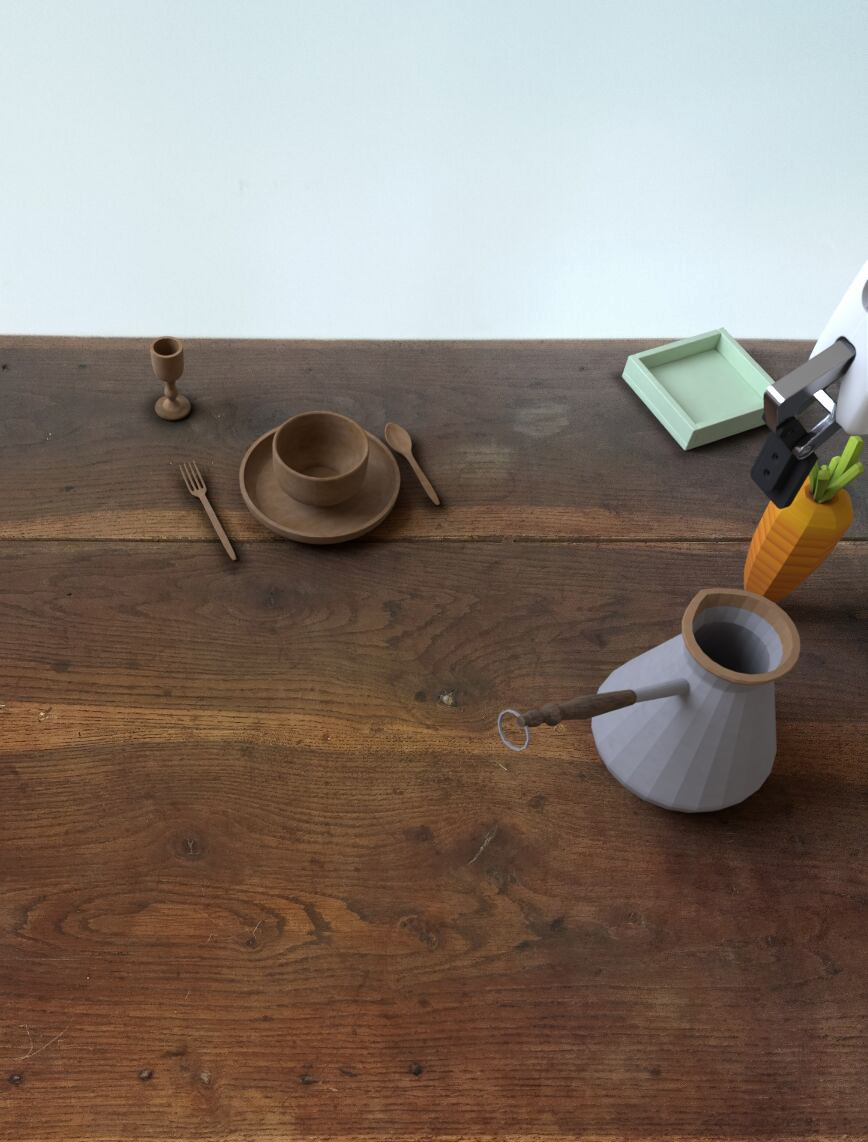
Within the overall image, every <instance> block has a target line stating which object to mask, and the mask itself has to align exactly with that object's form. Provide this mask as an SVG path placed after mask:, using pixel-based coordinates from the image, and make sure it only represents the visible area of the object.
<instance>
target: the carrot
mask: <svg viewBox="0 0 868 1142" xmlns="http://www.w3.org/2000/svg"><path fill="white" fill-rule="evenodd" d="M849 436H850V437H849V438H848V441H847V443H846V445H845V447H844V450H843V452H842V454H841V456H840V455H836V456H834V457H832V458H831V459H830V463H828V464H829V465H828V464H822V465H821V466H819V464H818V461H817V462H816V463H815V465H814V467H813V468H812V470H811V472H810V473H809V475H808V477H807V479H806V480H805V482H804V484H803V485H802V487H801V489H800V490H799V492H798V494H797V495H796V497H795V499H794V501H793V502H792V504H791V505H790V506H789V507H786V508H783V509H778V508H777V507H776V506H775V505H774V503H773V502H772V501H771V500H770V501H768V505H767V507H766V508H765V510H764V512H763V515H762V516H761V519H760V521H759V523H758V525H757V527H756V529H755V531H754V533H753V536H752V539H751V541H750V545H749V548H748V551H747V555H746V560H745V564H744V568H743V590H745V591H749V592H752V593H755V594H758V595H761V596H763V597H765V598H766V599H768V600H770V601H772V602H773V603H775V604H777V603H778V602H781V601H782V600H783V599H784V598H786V597H787V596H788V595H791V593H793V591H795V590H796V589H797V588H799V587H800V586H801V585H802V584H803V583H804V582H805V581H806V580H807V579H809V578H810V576H812V574H814V573H815V572H816V570H817V569H819V567H821V565H822V564H823V563H824V562H825V561H826V559H827V558H828V557H829V556H830V555H831V553H832V551H834V549H835V548H836V547H837V545H838V543H840V541H841V539H842V538H843V537H844V535H845V534H846V532H847V531H848V530H849V528H850V527H851V525H852V523H853V521H854V518H855V514H854V510H853V505H852V504H853V503H852V500H851V495H850V493H849V492H848V491H847V490H846V489H845V487H847V486H848V485H850V484H851V483H853V481H855V480H856V479H858V477H860V476H861V475H862V474H863V473H864V472H865V465H864V464H863V463H862V462H861V461H859V459H860V457H861V455H862V453H863V451H864V448H865V447H866V442H865V441H864V440H863V438H862V437H861V435H859V436H856V435H849Z"/></svg>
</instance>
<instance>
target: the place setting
mask: <svg viewBox="0 0 868 1142" xmlns="http://www.w3.org/2000/svg"><path fill="white" fill-rule="evenodd" d="M149 349H150V350H149V351H150V359H151V365H152V369H153V373H154V374H155V376H156V377H157V379H159V381H162V382H164V384H165V388H164V392H163V393H164V396H162V397H160V398H159V399H158V400H157V401H156V402H155V405H154V410H155V412H156V414H157V416H159V417H160V418H161V419H163V420H166V421H179V420H182V419H184V418H186V417H187V416H188V415H189V414H190V412H191V410H192V405H191V402H190V400H189V399H188V398H187V397H185V396H183V395H181V394H179V389H178V387H177V386H176V381H178V380H179V379H180V378H181V377H182V376H183V374H184V370H185V357H184V347H183V343H182V341H181V340H180V339H179V338H177V337H174V336H172V335H162V336H159V337H157V338H154V339H153V340H152V342H151V343H150V346H149ZM384 439H385V441H386V442H387V445H388V446H389V447H390V448H391V449H392V450H393V451H394V452H396V453H397V454H399V455H401V456H403V457H404V458H406V460H407V461H408V463H409V464H410V466H411V468H412V469H413V471H414V473H415V475H416V477H417V478H418V481H419V482H420V484H421V486H422V487H423V490H424V491H425V493H426V494H427V496H428V497H429V499H430V500H431V501H432V502H433V504H435V506H439V505H440V500H439V498H438V497H439V496H438V495H437V492H436V491H435V489H434V488H433V485H432V484H431V483H430V481H429V480H428V478H427V476H426V475H425V473H424V472H423V470H422V469H421V466H420V465H419V464H418V462H417V460H416V459H415V458H414V456H413V452H412V448H413V442H412V438H411V436H410V434H409V433H408V431H407V430H406V429H404V427H402V426H400V425H398V424H397V423H394V422H391V421H390V422H388V423H386V425H385V427H384ZM387 445H386V444H384V442H382V440H380V439H379V438H378V437H377V436H376V435H374V434H372V433H371V432H368V431H367V430H365V429H364V428H363V427H361V426H360V424H359V423H357V422H356V421H354V420H353V419H352V418H350V417H349V416H348V417H347V416H345V415H343V414H340V413H337V412H333V411H327V410H324V411H323V410H315V411H314V410H313V411H307V412H303V413H299V414H297V415H294V416H292V417H290V418H288V419H287V420H286V421H285V422H283V423H282V424H281V425H279V426H277V427H274V428H273V429H270V430H269V431H267V432H266V433H264V434H263V435H261V436H260V437H259V438H257V439H256V440H255V441H254V442H253V443H252V444H251V445H250V446H249V448H248V449H247V451H246V452H245V454H244V455H243V458H242V459H241V463H240V467H239V474H238V475H239V476H238V479H239V489H240V493H241V497H242V499H243V501H244V503H245V506H246V507H247V509H248V511H249V512H250V513H251V514H252V516H253V517H254V518H255V519H256V520H257V522H259V523H260V524H261V525H262V526H264V527H265V528H266V529H268V530H269V531H271V532H273V533H274V534H276V535H278V536H280V537H283V538H285V539H287V540H290V541H294V542H298V543H303V544H308V545H333V544H339V543H344V542H348V541H352V540H354V539H358V538H360V537H362V536H364V535H366V534H368V533H369V532H371V531H372V530H374V529H375V528H377V527H378V526H379V525H381V523H382V522H383V521H384V520H385V519H386V518H387V517H388V515H390V513H391V512H392V510H393V508H394V506H395V505H396V502H397V499H398V496H399V491H400V486H401V473H400V468H399V465H398V462H397V460H396V458H395V457H394V454H393V453H392V452H391V450H390V449H389V448H388V447H387ZM192 462H193V465H194V468H195V470H196V472H195V471H194V469H193V466H192V464H191V462H188V466H189V469H190V471H191V473H190V472H189V469H188V467H187V465H186V463H185V462H184V463H183V466H184V469H185V471H186V474H187V476H188V478H187V476H186V474H185V472H184V470H183V468H182V467H183V466H182V465H181V464H178V465H179V469H180V473H181V476H182V477H183V480H184V482H185V485H186V486H187V489H188V491H189V493H190V494H191V495H192V496H194V497H196V498H199V500H200V501H201V503H202V506H203V507H204V510H205V511H206V513H207V515H208V518H209V520H210V521H211V523H212V526H213V528H214V530H215V532H216V534H217V536H218V539H219V540H220V542H221V544H222V545H223V547H224V549H225V551H226V553H227V555H228V556H229V557H230V559H231V560H232V561H235V560H237V556H236V553H235V551H234V548H233V547H232V545H231V543H230V540H229V538H228V536H227V534H226V532H225V531H224V529H223V526H222V524H221V523H220V521H219V518H218V516H217V515H216V513H215V511H214V509H213V508H212V505H211V503H210V502H209V500H208V498H207V495H206V494H207V492H208V490H207V487H206V486H207V485H206V484H205V481H204V479H203V476H202V475H201V472H200V470H199V468H198V466H197V463H196V462H195V460H193V461H192ZM196 473H197V475H198V477H199V479H198V477H197V475H196ZM191 474H192V476H193V478H194V480H195V483H196V485H197V487H198V489H197V487H196V485H195V483H194V480H193V478H192V476H191ZM188 479H189V481H190V483H189V481H188ZM199 480H200V482H199ZM200 483H201V484H202V486H203V488H202V486H201V484H200ZM190 484H191V486H192V488H193V490H192V488H191V486H190Z"/></svg>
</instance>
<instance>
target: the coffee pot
mask: <svg viewBox="0 0 868 1142" xmlns="http://www.w3.org/2000/svg"><path fill="white" fill-rule="evenodd" d="M796 626H797V625H795V623H794V621H793V620H792V619H791V617H790V616H789V615H788V613H787V612H786V611H784V609H783V608H781V607H780V606H779V605H777V603H773V602H772V601H770V600H768V599H766V598H765V597H763V596H761V595H758V594H755V593H752V592H749V591H745V590H744V589H739V588H738V589H737V588H724V587H723V588H722V587H721V588H720V587H716V588H715V587H714V588H702V589H700V590H699V591H698V592H697V594H696V595H695V596H694V597H693V598H692V600H691V601H690V602H689V604H688V605H687V607H686V609H685V611H684V614H683V617H682V620H681V633H679V634H677V635H675V636H674V637H672V638H670V639H669V640H666V641H664V642H662V643H661V644H658V645H657V646H655V647H653V648H651V649H649V650H647V651H646V652H644V653H642V654H640V655H637V656H636V657H634V658H631V659H630V660H628V661H627V662H625V663H624V664H623V665H620V666H619V667H617V668H616V669H615V670H613V671H612V672H611V673H610V674H609V675H608V677H606V679H605V680H604V681H603V683H602V684H601V685H600V686H599V687H598V690H597V693H592V694H585V695H579V696H578V695H577V696H576V697H574V698H572V699H569V700H567V701H565V702H562V703H560V704H557V703H555V702H553V701H552V702H547V703H545V705H544V704H543V707H542V709H540V710H539V709H530V710H528V711H526V712H524V713H522V714H520V713H519V712H518V711H516V710H513V709H511V708H509V709H506V710H504V711H502V712H500V714H499V716H498V719H497V728H498V732H499V735H500V737H501V739H502V742H503V743H504V745H506V746H507V747H508V748H510V749H511V750H512V751H513V750H514V751H517V752H521V751H523V750H525V749H528V747H529V745H530V743H531V740H532V737H531V731H530V728H538V727H540V726H541V725H542V724H545V725H547V726H548V727H552V728H553V727H557V726H558V725H560V724H561V722H562V721H584V720H589V719H591V725H590V728H591V732H592V735H593V739H594V743H595V747H596V750H597V752H598V755H599V756H600V758H601V760H602V761H603V763H604V766H605V767H606V768H607V770H608V772H609V773H610V774H611V776H613V778H615V779H616V781H618V783H620V784H621V786H623V788H624V789H626V790H628V791H629V792H630V793H632V794H633V795H635V796H637V797H638V798H639V799H641V800H643V802H646V803H649V804H652V805H654V806H656V807H659V808H662V809H665V810H669V811H676V812H682V813H687V814H692V813H708V812H715V811H720V810H723V809H727V808H729V807H732V806H735V805H738V804H740V803H742V802H743V801H744V800H746V799H747V798H748V797H750V796H751V795H753V794H754V793H756V792H757V791H759V790H760V788H761V787H762V785H763V784H764V783H765V781H766V780H767V779H768V777H769V776H770V774H771V773H772V770H773V766H774V762H775V758H776V755H777V751H778V749H777V721H776V693H775V692H776V691H775V682H776V681H779V680H781V679H782V678H784V677H785V676H786V675H788V674H789V673H791V671H792V670H793V669H794V667H795V666H796V665H797V663H798V660H799V657H800V654H801V653H800V652H801V637H800V634H799V631H798V629H797V627H796ZM507 713H510V714H513V715H515V716H516V717H517V718H516V724H517V726H518V727H519V728H524V730H525V734H526V741H525V744H524V746H523V747H521V748H520V747H516V746H514V745H513V744H512V743H511V742H509V741H508V740H507V738H506V736H505V733H504V731H503V724H502V721H503V718H504V715H505V714H507Z"/></svg>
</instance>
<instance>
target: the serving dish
mask: <svg viewBox="0 0 868 1142" xmlns="http://www.w3.org/2000/svg"><path fill="white" fill-rule="evenodd" d="M621 378H622V379H623V380H624V381H625V382H626V383H627V385H628V386H629V388H631V390H632V391H634V393H635V394H636V395H637V396H638V398H639V399H640V400H641V401H642V403H644V404H645V405H646V407H647V408H648V410H650V412H651V413H652V414H653V415H654V417H656V419H657V420H658V421H659V423H660V424H661V425H662V426H663V427H664V428H665V429H666V430H667V432H668V433H669V434H670V435H671V437H672V438H673V439H674V440H675V442H677V443H678V445H679V446H680V447H681V448H682V449H683V450H684V451H685V452H686V451H689V450H692V449H695V448H698V447H701V446H704V445H707V444H710V443H713V442H716V441H719V440H722V439H725V438H728V437H731V436H734V435H737V434H741V433H743V432H746V431H748V430H749V431H750V430H752V429H755V428H759V427H761V426H764V425H767V424H766V423H765V422H764V421H763V419H762V415H763V413H764V400H763V395H764V392H765V391H766V389H767V388H768V387H769V386H771V385H772V384H773V383H775V382H776V381H775V380H774V379H773V377H771V376H770V375H769V374H768V373H767V371H765V369H764V368H762V366H761V365H760V363H758V362H757V361H756V360H755V359H754V358H753V357H752V356H751V355H750V354H749V352H747V351H746V350H745V348H744V347H742V345H741V344H740V343H739V342H738V341H737V340H736V339H735V338H734V336H732V335H731V333H730V332H728V330H727V329H725V327H720V328H716V329H712V330H710V331H707V332H704V333H703V332H702V333H700V334H696V335H693V336H690V337H687V338H683V339H680V340H675V341H673V342H670V343H667V344H664V345H660V346H656V347H653V348H651V349H647V350H644V351H640V352H638V353H635V354H631V355H629V356H628V357H627V360H626V364H625V366H624V369H623V372H622V375H621Z"/></svg>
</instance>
